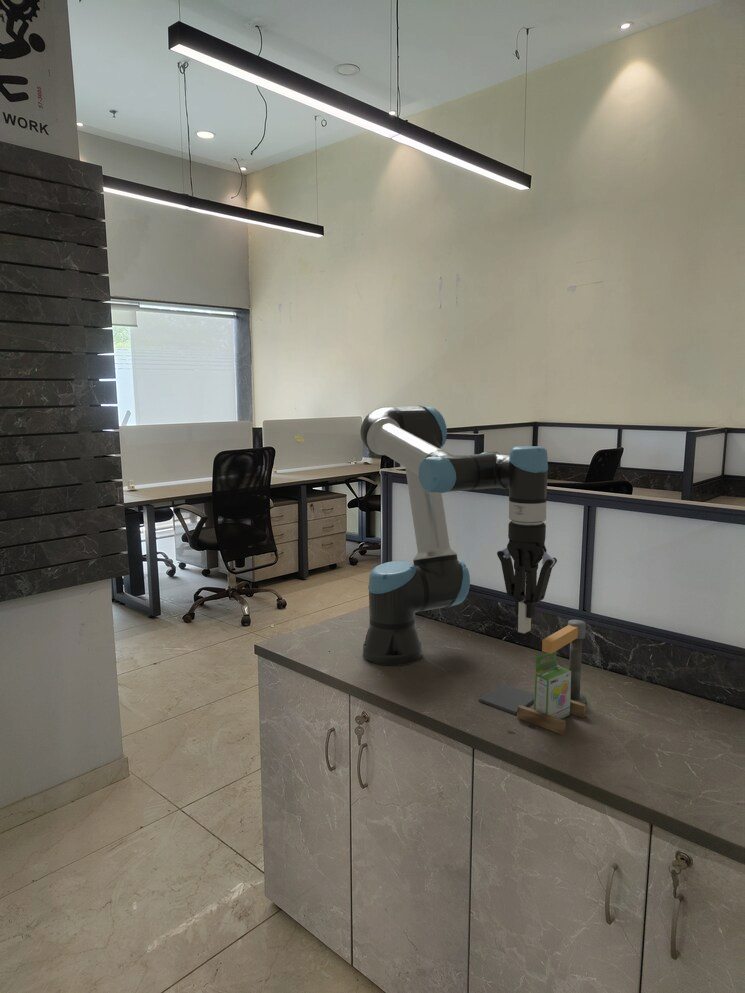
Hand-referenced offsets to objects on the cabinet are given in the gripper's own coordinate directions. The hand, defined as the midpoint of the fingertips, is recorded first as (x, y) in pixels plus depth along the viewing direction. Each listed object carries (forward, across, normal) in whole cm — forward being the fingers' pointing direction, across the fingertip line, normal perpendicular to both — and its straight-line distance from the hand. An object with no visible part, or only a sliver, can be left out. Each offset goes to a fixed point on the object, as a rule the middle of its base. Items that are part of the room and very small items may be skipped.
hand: (524, 630), depth 136 cm
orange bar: (+1, +8, +2) cm, 8 cm away
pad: (+16, -3, -1) cm, 16 cm away
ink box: (+16, +8, -2) cm, 18 cm away
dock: (+16, +8, +2) cm, 18 cm away
